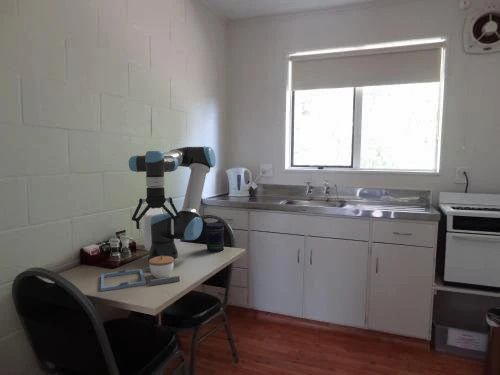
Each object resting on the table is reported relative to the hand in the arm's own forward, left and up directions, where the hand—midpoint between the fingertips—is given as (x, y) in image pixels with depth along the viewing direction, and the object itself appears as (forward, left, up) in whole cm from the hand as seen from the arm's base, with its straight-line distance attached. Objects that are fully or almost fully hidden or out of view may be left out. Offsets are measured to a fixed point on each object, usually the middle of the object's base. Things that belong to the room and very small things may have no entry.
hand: (156, 235), depth 148 cm
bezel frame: (+15, -3, -19) cm, 24 cm away
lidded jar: (-2, -2, -20) cm, 20 cm away
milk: (-6, -55, -20) cm, 58 cm away
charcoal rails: (-2, -2, -19) cm, 20 cm away
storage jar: (-36, -31, -20) cm, 52 cm away
